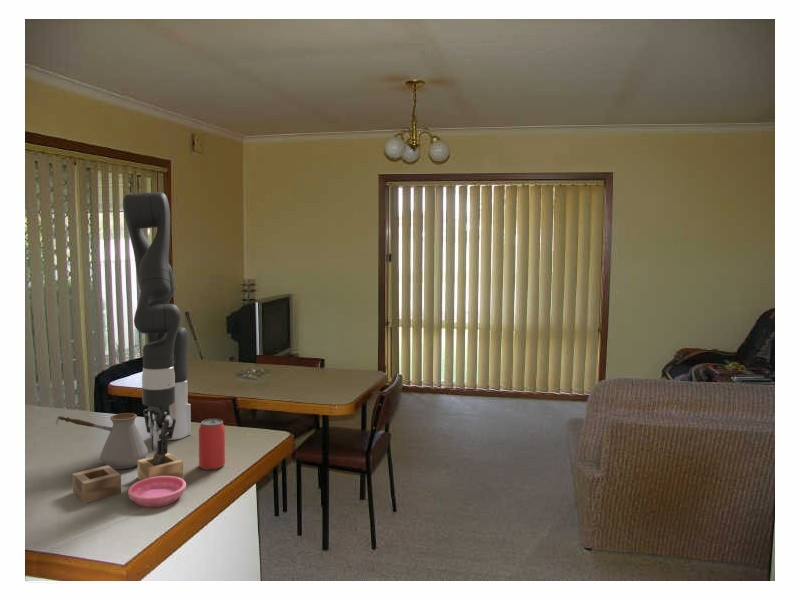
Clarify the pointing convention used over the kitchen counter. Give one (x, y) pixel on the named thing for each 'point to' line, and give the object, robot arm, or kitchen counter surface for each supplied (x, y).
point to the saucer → (157, 491)
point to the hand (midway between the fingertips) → (159, 452)
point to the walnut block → (96, 483)
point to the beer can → (211, 444)
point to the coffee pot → (119, 441)
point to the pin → (157, 458)
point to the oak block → (160, 467)
